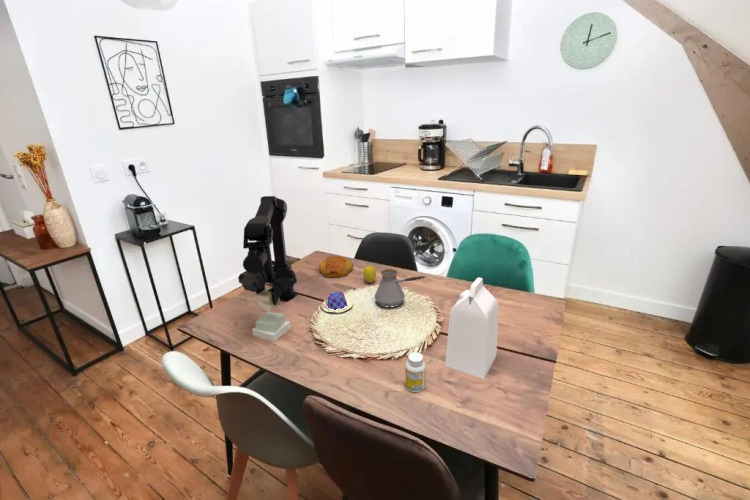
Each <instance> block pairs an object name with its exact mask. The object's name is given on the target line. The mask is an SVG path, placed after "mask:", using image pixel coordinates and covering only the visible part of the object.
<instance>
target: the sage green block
mask: <svg viewBox="0 0 750 500" xmlns="http://www.w3.org/2000/svg"><path fill="white" fill-rule="evenodd" d="M286 321H287V320H286V314H285V313H279V312H278V313H277V312H272V311H266V312H265V313H264V314H263V315H262V316H260V317H259V319H257V320H256V321H255V327H256V329H257V330H260V331H267V332H273V333H275V332H276V331H277V330H278V329H279V328H280V327H281V326H282V325H283V324H284V323H285V322H286Z"/></svg>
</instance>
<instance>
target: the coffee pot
mask: <svg viewBox="0 0 750 500" xmlns="http://www.w3.org/2000/svg"><path fill="white" fill-rule="evenodd" d="M398 273H399V272H398V270H396V269H393V268H387V269H386V268H385V269H383V270H381V271H380V275H381V276H382V277H381V281H380V283H379V285H378V287H377V290H376V292H375V295H374V299H375V301H376V302H377V303H378V305H380V306H382V305H383V306H382V307H384V306H388V307H391V306H396V305H398V306H399V305H400V304H402V302H404V300H405V297H406V296H405V292H404V291H403V288H402V287H401V284H400V283H402V282H412V281H417V280H421V279H422V281H423V282H424V283H426V282H427V281H428V278H427V276H425V275H421V276H420V275H419V276H413V277H408V278H402V279H398V278H397V275H398ZM424 279H426V281H425V280H424ZM388 307H387V308H388ZM396 307H397V306H396ZM391 308H392V307H391Z"/></svg>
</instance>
